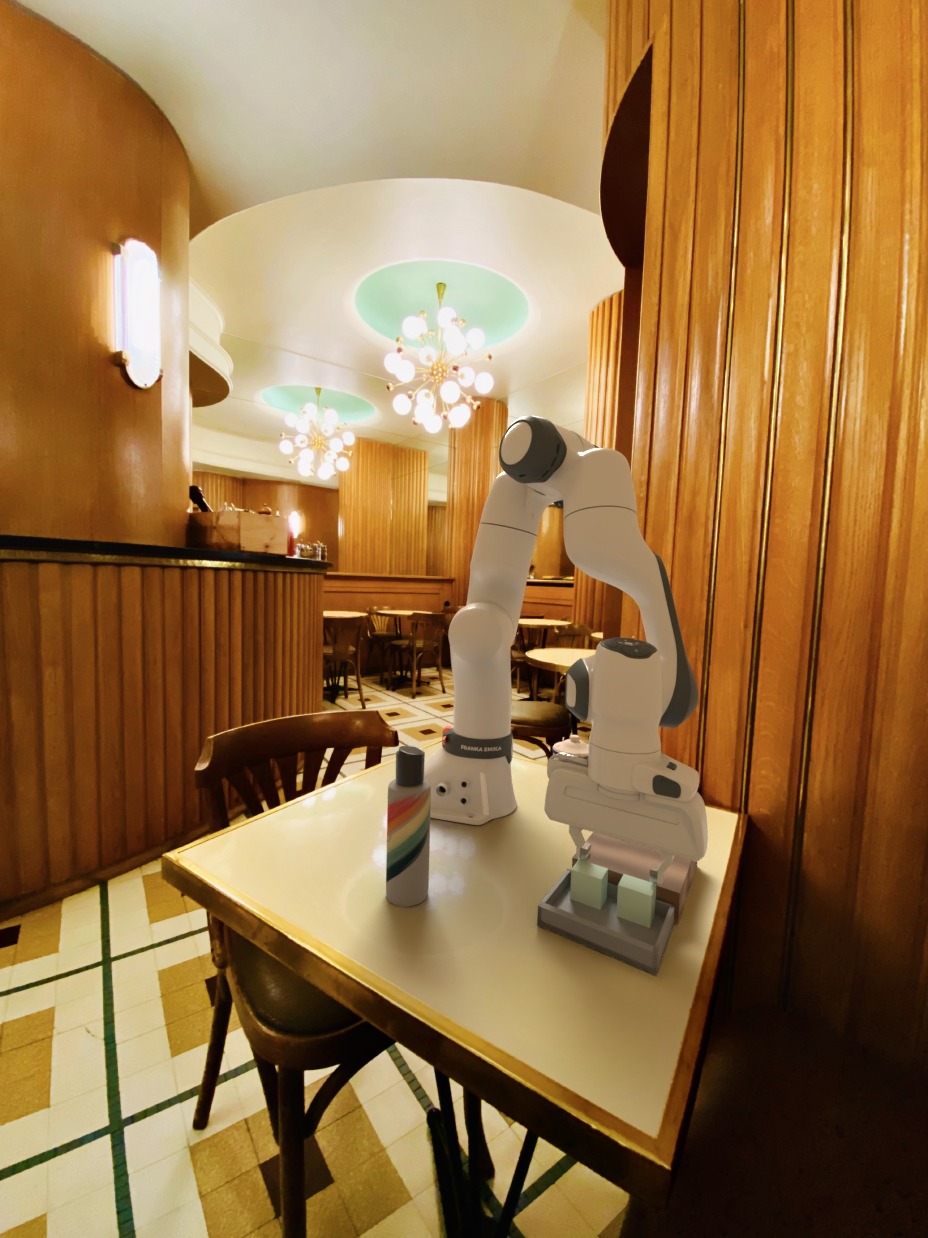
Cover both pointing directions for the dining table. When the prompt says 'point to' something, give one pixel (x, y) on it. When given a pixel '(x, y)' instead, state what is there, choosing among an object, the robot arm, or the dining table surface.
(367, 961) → the dining table surface
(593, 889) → the mint block
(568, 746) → the teacup with lid
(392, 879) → the lotion bottle
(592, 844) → the walnut bench
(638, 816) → the robot arm
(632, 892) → the mint block
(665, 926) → the charcoal tray
